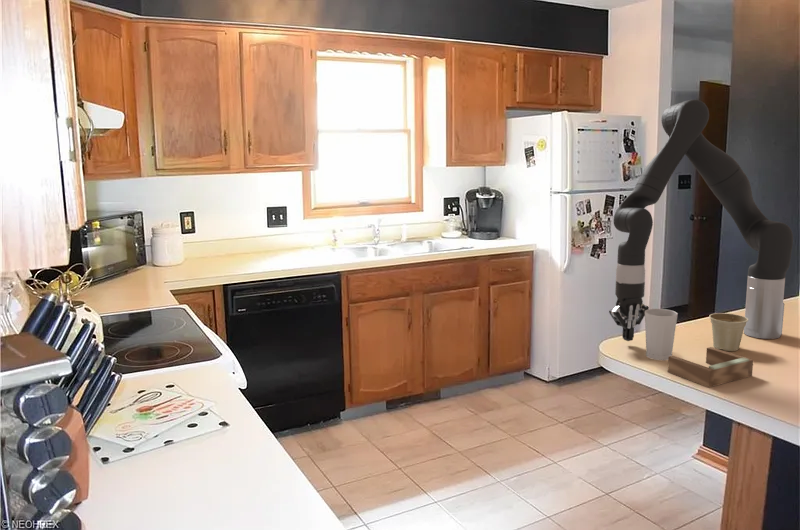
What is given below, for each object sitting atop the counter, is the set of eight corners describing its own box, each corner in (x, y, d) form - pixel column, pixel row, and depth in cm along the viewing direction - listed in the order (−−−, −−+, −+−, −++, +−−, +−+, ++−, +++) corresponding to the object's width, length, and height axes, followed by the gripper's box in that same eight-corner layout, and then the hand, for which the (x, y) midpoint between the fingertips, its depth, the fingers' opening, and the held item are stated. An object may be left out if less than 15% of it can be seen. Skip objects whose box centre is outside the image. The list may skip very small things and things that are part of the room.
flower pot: (754, 350, 165) (756, 319, 163) (728, 355, 162) (730, 323, 160) (724, 341, 174) (726, 311, 172) (699, 345, 170) (701, 315, 169)
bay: (709, 361, 157) (711, 345, 156) (752, 375, 147) (753, 358, 146) (667, 372, 151) (668, 354, 150) (708, 387, 141) (709, 369, 140)
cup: (648, 349, 168) (650, 307, 166) (679, 355, 163) (681, 311, 161) (638, 357, 162) (640, 313, 160) (670, 363, 157) (672, 318, 155)
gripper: (637, 274, 175) (635, 333, 178) (602, 280, 169) (600, 340, 172) (658, 279, 168) (655, 340, 171) (622, 284, 163) (620, 347, 166)
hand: (627, 340), depth 172 cm, fingers closed
